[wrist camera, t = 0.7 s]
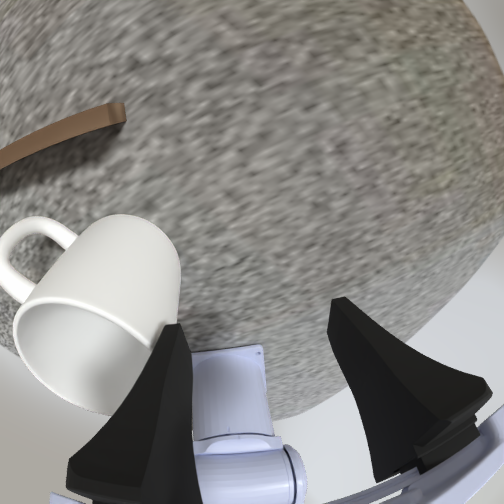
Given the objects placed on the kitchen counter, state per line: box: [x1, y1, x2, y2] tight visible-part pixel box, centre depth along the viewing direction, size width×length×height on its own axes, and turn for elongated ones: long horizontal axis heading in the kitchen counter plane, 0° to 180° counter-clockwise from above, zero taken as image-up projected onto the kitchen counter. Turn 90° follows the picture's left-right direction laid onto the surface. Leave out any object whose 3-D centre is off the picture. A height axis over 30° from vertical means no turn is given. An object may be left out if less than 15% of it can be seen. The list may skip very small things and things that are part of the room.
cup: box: [0, 214, 181, 416], centre depth 13 cm, size 8×12×10 cm
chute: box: [0, 103, 126, 169], centre depth 16 cm, size 19×18×3 cm
